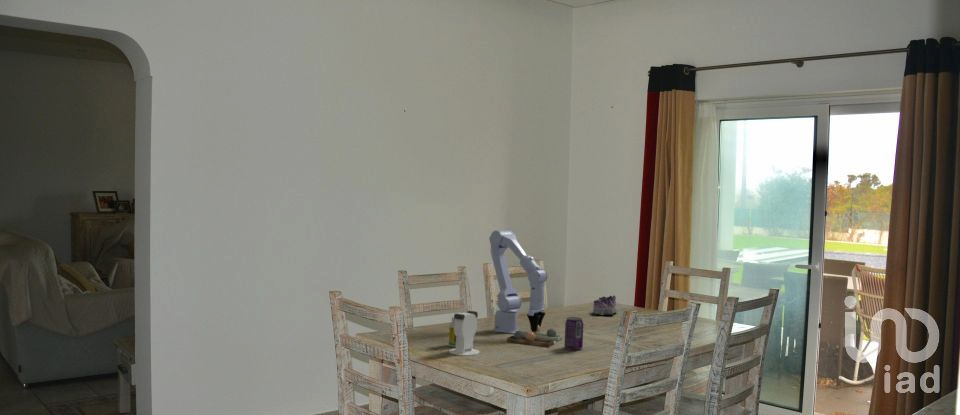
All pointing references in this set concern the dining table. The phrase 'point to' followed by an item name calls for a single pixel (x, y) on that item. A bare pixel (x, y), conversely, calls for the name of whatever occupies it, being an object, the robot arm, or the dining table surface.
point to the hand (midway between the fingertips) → (535, 330)
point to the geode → (605, 306)
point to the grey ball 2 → (551, 333)
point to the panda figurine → (465, 333)
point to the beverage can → (574, 333)
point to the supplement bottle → (452, 334)
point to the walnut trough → (536, 342)
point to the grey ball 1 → (518, 335)
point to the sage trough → (545, 336)
